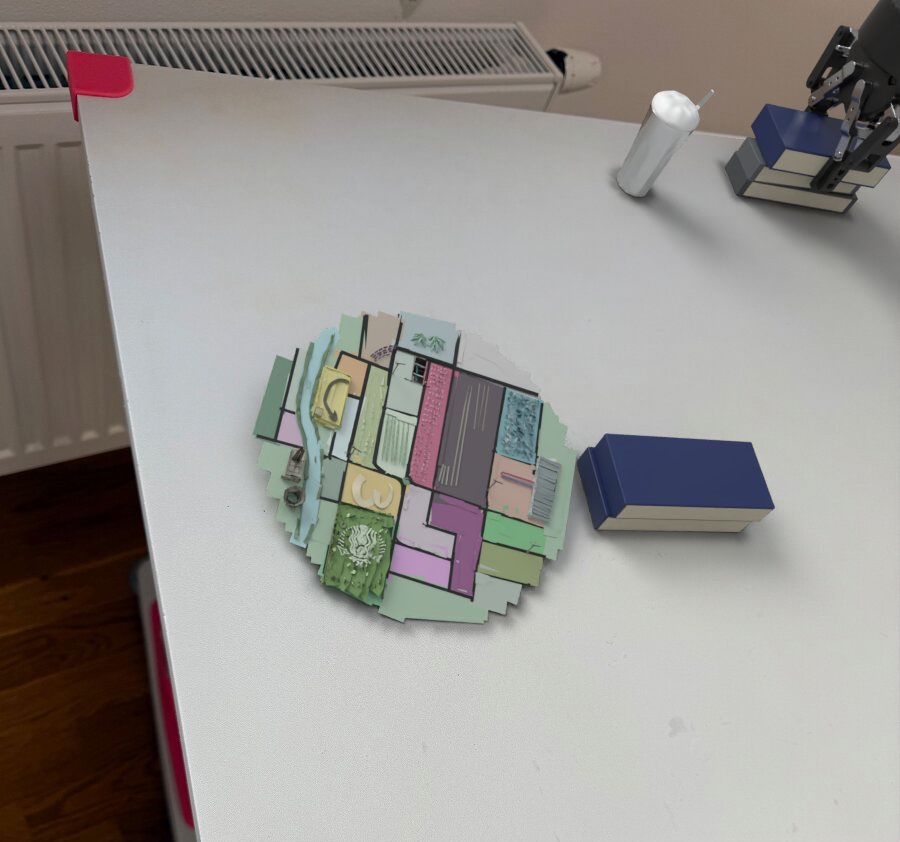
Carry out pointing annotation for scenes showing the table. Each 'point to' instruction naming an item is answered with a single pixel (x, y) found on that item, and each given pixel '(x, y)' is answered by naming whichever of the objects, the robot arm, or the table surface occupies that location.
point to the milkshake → (658, 140)
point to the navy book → (806, 143)
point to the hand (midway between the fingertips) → (806, 165)
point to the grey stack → (782, 183)
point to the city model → (416, 466)
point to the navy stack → (673, 484)
